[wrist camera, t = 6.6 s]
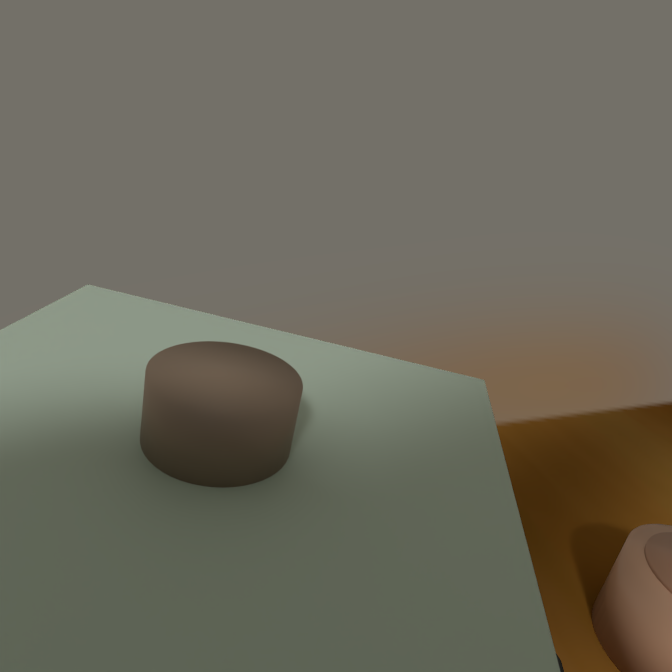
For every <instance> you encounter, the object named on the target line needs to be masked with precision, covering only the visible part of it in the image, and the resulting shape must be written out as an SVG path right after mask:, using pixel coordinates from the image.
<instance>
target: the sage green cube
mask: <svg viewBox="0 0 672 672" xmlns="http://www.w3.org/2000/svg"><path fill="white" fill-rule="evenodd" d="M0 672H560V668H559V664H558V660H557V656H556V653H555V649H554V645H553V641H552V637H551V633H550V630H549V626H548V622H547V618H546V614H545V611H544V607H543V603H542V599H541V595H540V591H539V588H538V584H537V580H536V576H535V572H534V568H533V565H532V561H531V557H530V553H529V549H528V545H527V542H526V538H525V534H524V530H523V526H522V523H521V519H520V515H519V511H518V507H517V503H516V500H515V496H514V492H513V488H512V484H511V480H510V477H509V473H508V469H507V465H506V461H505V457H504V454H503V450H502V446H501V442H500V438H499V435H498V431H497V427H496V423H495V419H494V415H493V412H492V408H491V404H490V400H489V396H488V392H487V389H486V385H485V381H484V380H482V379H478V378H473V377H470V376H465V375H461V374H457V373H453V372H448V371H445V370H440V369H436V368H432V367H427V366H424V365H420V364H415V363H411V362H407V361H403V360H399V359H395V358H391V357H386V356H382V355H378V354H374V353H370V352H366V351H362V350H358V349H353V348H349V347H345V346H341V345H337V344H333V343H328V342H324V341H320V340H316V339H312V338H308V337H304V336H299V335H295V334H291V333H287V332H283V331H278V330H275V329H270V328H266V327H262V326H257V325H254V324H250V323H246V322H241V321H237V320H233V319H229V318H224V317H221V316H216V315H212V314H208V313H204V312H200V311H196V310H192V309H187V308H183V307H179V306H175V305H170V304H166V303H163V302H158V301H154V300H150V299H146V298H142V297H137V296H134V295H129V294H125V293H121V292H117V291H113V290H109V289H104V288H100V287H95V286H92V285H86V286H84V287H82V288H80V289H78V290H77V291H75V292H73V293H71V294H69V295H67V296H65V297H63V298H61V299H59V300H57V301H55V302H54V303H51V304H50V305H48V306H46V307H44V308H42V309H40V310H38V311H36V312H34V313H32V314H30V315H29V316H27V317H25V318H23V319H21V320H19V321H17V322H15V323H13V324H11V325H9V326H8V327H5V328H3V329H2V330H0Z"/></svg>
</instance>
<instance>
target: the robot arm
mask: <svg viewBox="0 0 672 672" xmlns="http://www.w3.org/2000/svg"><path fill="white" fill-rule="evenodd" d="M556 656H557V654H556ZM557 660H558V664H559V668H560V672H564V670H563V667H562V663H561V660H560V659H559V657H558V656H557Z"/></svg>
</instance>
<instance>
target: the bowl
mask: <svg viewBox="0 0 672 672" xmlns="http://www.w3.org/2000/svg"><path fill="white" fill-rule="evenodd" d="M592 623H593V627H594V630H595V633H596V635H597V638H598V640H599V642H600V644H601V646H602V647H603V649H604V651H605V652H606V654H607V655H608V657H609V658H610V659H611V661H612V662H613V663H614V664H615V666H616V667H617V668H618V669H619V670H620V671H621V672H672V526H670V525H663V524H647V525H642V526H639V527H637V528H635V529H634V530H632V531H631V532H630V534H629V536H628V537H627V539H626V541H625V543H624V545H623V547H622V549H621V551H620V553H619V555H618V557H617V559H616V561H615V563H614V565H613V567H612V569H611V571H610V573H609V575H608V577H607V579H606V580H605V582H604V584H603V586H602V588H601V590H600V592H599V594H598V596H597V598H596V600H595V602H594V604H593V608H592Z"/></svg>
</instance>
